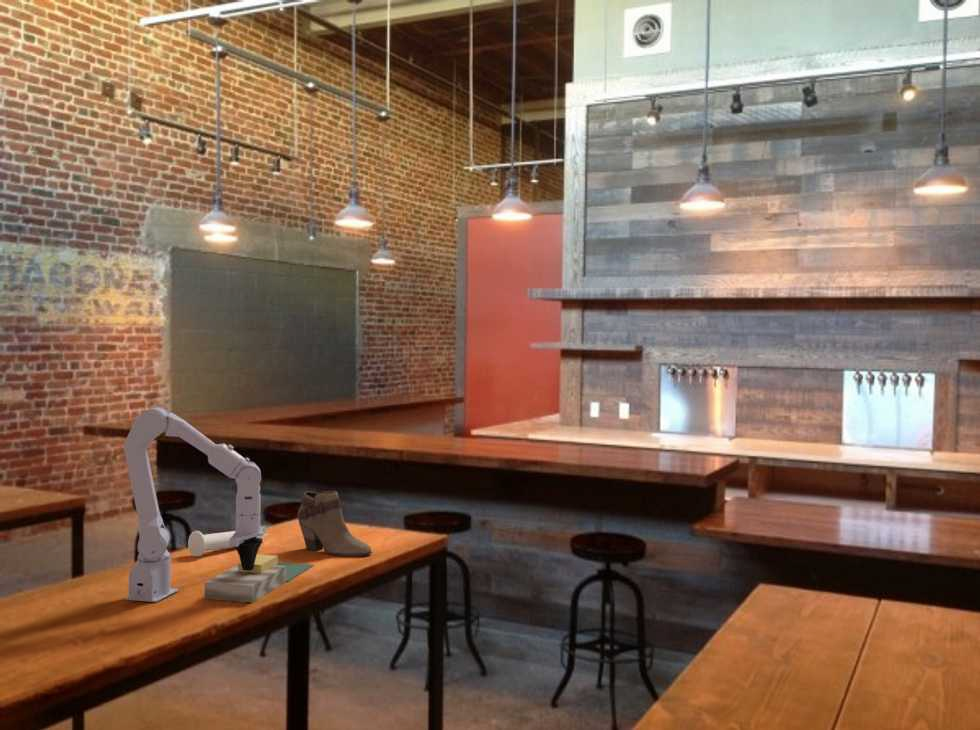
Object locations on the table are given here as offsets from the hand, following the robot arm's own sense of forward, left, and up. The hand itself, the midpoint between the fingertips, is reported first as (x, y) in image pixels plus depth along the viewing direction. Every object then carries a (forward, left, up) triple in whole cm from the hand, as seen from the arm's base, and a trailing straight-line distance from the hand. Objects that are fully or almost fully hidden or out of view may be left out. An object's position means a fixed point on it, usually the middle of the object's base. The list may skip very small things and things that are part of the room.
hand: (247, 569), depth 209 cm
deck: (0, 0, -5) cm, 5 cm away
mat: (+17, 0, -5) cm, 17 cm away
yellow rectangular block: (+5, 0, -1) cm, 6 cm away
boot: (+40, -6, -5) cm, 41 cm away
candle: (+25, +28, -1) cm, 38 cm away
